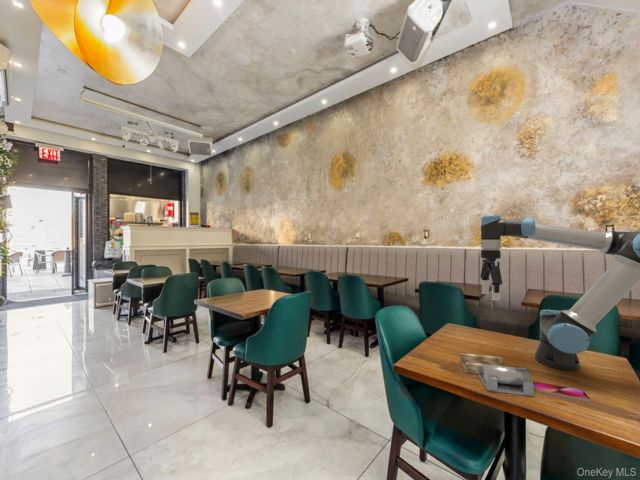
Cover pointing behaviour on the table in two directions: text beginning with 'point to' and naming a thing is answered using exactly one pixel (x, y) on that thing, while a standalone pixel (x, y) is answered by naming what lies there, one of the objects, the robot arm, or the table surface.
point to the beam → (478, 362)
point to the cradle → (507, 386)
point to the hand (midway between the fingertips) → (490, 297)
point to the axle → (506, 374)
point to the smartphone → (561, 391)
